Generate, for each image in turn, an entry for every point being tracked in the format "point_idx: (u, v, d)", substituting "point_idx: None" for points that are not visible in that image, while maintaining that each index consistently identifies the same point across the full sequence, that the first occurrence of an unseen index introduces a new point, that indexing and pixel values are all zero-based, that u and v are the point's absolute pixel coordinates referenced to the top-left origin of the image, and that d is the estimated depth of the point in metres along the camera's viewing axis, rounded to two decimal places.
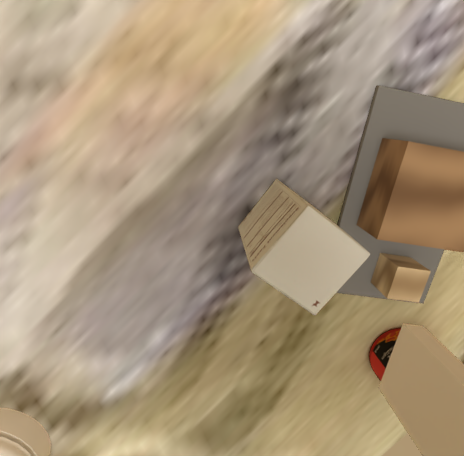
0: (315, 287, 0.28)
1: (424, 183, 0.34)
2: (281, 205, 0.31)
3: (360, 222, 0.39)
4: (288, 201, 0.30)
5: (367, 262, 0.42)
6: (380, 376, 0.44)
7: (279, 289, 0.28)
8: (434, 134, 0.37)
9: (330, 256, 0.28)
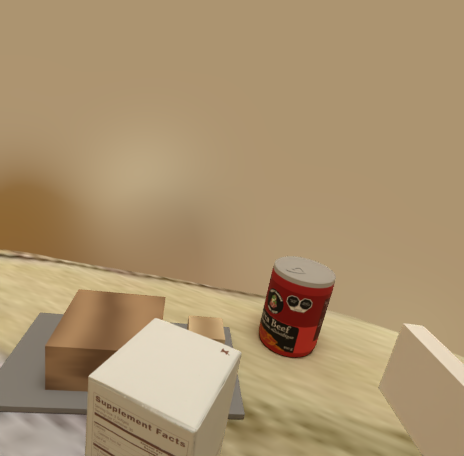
0: (203, 354, 0.23)
1: (95, 328, 0.34)
2: (105, 451, 0.21)
3: None
4: (97, 434, 0.21)
5: None
6: (310, 334, 0.43)
7: (216, 391, 0.20)
8: None
9: (160, 346, 0.23)
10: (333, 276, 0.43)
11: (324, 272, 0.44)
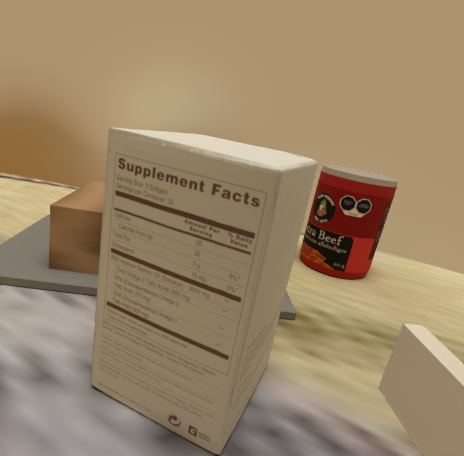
0: (267, 149, 0.16)
1: None
2: (129, 257, 0.14)
3: None
4: (117, 231, 0.14)
5: None
6: (366, 249, 0.36)
7: (297, 164, 0.13)
8: None
9: (208, 137, 0.16)
10: (395, 179, 0.36)
11: (382, 179, 0.37)
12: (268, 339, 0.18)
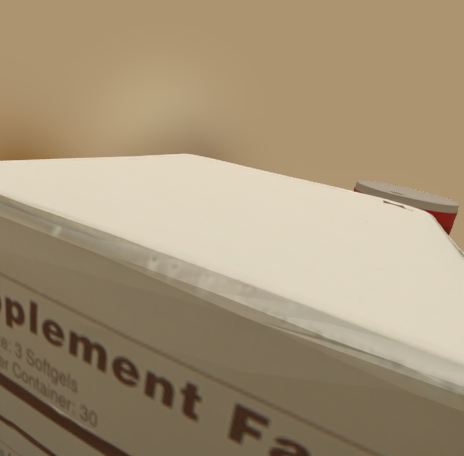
0: (341, 197, 0.07)
1: None
2: None
3: None
4: None
5: None
6: None
7: None
8: None
9: (209, 170, 0.07)
10: (454, 202, 0.27)
11: (434, 199, 0.29)
12: None
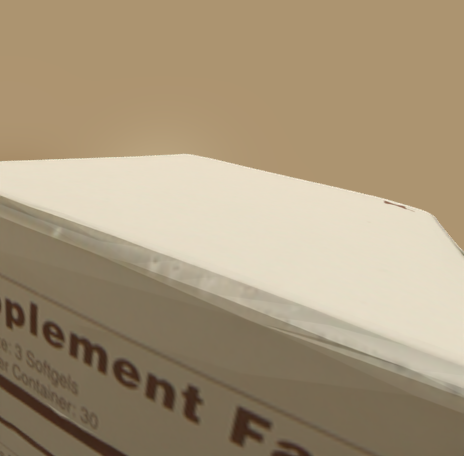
0: (342, 198, 0.07)
1: None
2: None
3: None
4: None
5: None
6: None
7: None
8: None
9: (209, 170, 0.07)
10: None
11: None
12: None
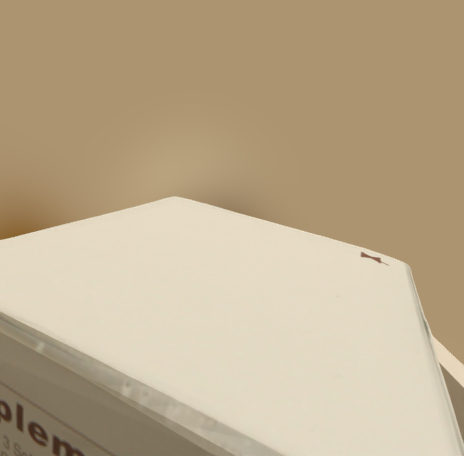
0: (319, 255, 0.08)
1: None
2: None
3: None
4: None
5: None
6: None
7: (427, 349, 0.05)
8: None
9: (193, 228, 0.08)
10: None
11: None
12: None
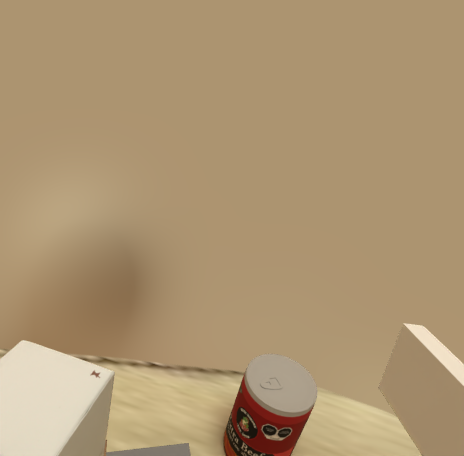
0: (69, 381, 0.22)
1: None
2: None
3: None
4: None
5: None
6: None
7: (76, 423, 0.20)
8: None
9: (21, 376, 0.22)
10: (314, 389, 0.36)
11: (303, 379, 0.37)
12: None
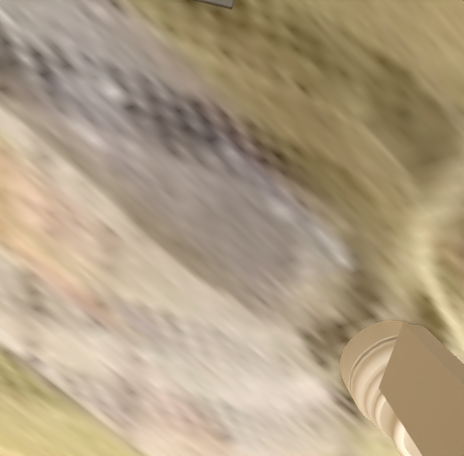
0: None
1: None
2: None
3: None
4: None
5: None
6: None
7: None
8: None
9: None
10: None
11: None
12: None
